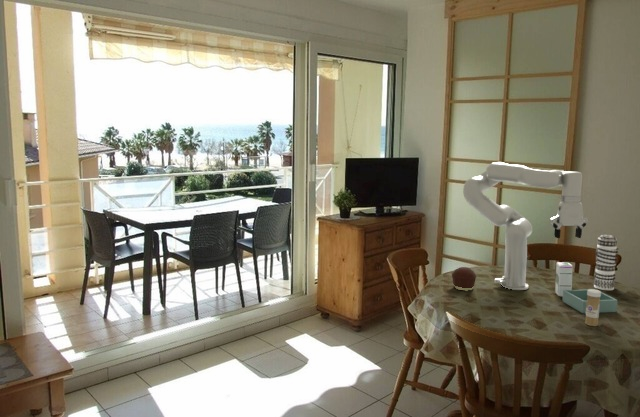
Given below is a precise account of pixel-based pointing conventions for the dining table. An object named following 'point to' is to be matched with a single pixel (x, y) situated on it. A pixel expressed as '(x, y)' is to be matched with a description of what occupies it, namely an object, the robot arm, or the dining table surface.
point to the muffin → (464, 277)
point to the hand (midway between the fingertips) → (567, 237)
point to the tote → (579, 301)
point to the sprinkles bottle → (592, 307)
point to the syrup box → (563, 277)
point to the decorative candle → (605, 262)
